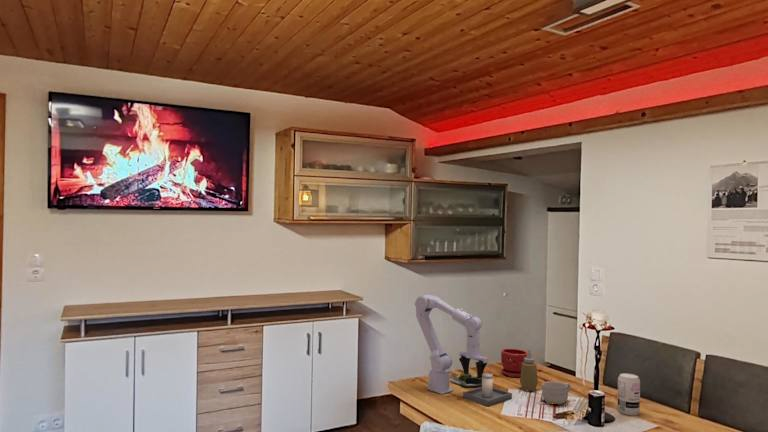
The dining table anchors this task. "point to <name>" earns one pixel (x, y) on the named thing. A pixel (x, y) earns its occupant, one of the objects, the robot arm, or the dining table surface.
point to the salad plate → (467, 380)
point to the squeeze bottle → (529, 373)
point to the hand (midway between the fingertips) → (472, 375)
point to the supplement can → (629, 394)
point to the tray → (477, 397)
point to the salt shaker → (487, 385)
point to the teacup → (555, 392)
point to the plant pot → (512, 361)
